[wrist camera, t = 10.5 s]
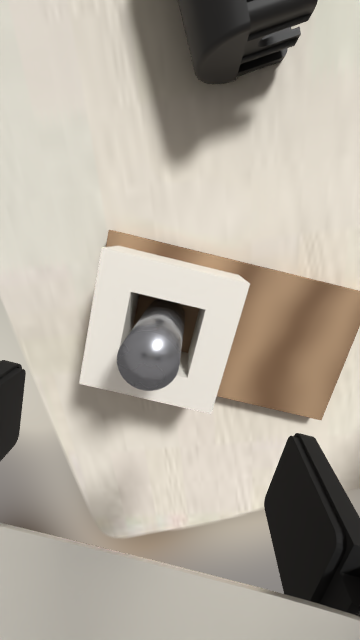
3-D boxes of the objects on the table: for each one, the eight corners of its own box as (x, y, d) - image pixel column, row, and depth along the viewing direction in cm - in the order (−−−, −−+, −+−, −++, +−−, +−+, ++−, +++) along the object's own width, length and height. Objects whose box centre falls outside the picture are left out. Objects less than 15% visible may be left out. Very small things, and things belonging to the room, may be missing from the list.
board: (362, 291, 27) (372, 294, 25) (314, 411, 30) (321, 420, 28) (113, 230, 26) (108, 230, 25) (91, 359, 29) (85, 365, 28)
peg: (189, 303, 26) (186, 340, 16) (180, 340, 27) (171, 396, 17) (149, 293, 26) (122, 325, 16) (141, 331, 27) (111, 382, 17)
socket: (238, 274, 25) (250, 283, 20) (207, 383, 28) (211, 414, 23) (118, 245, 25) (101, 247, 20) (98, 358, 28) (79, 383, 23)
